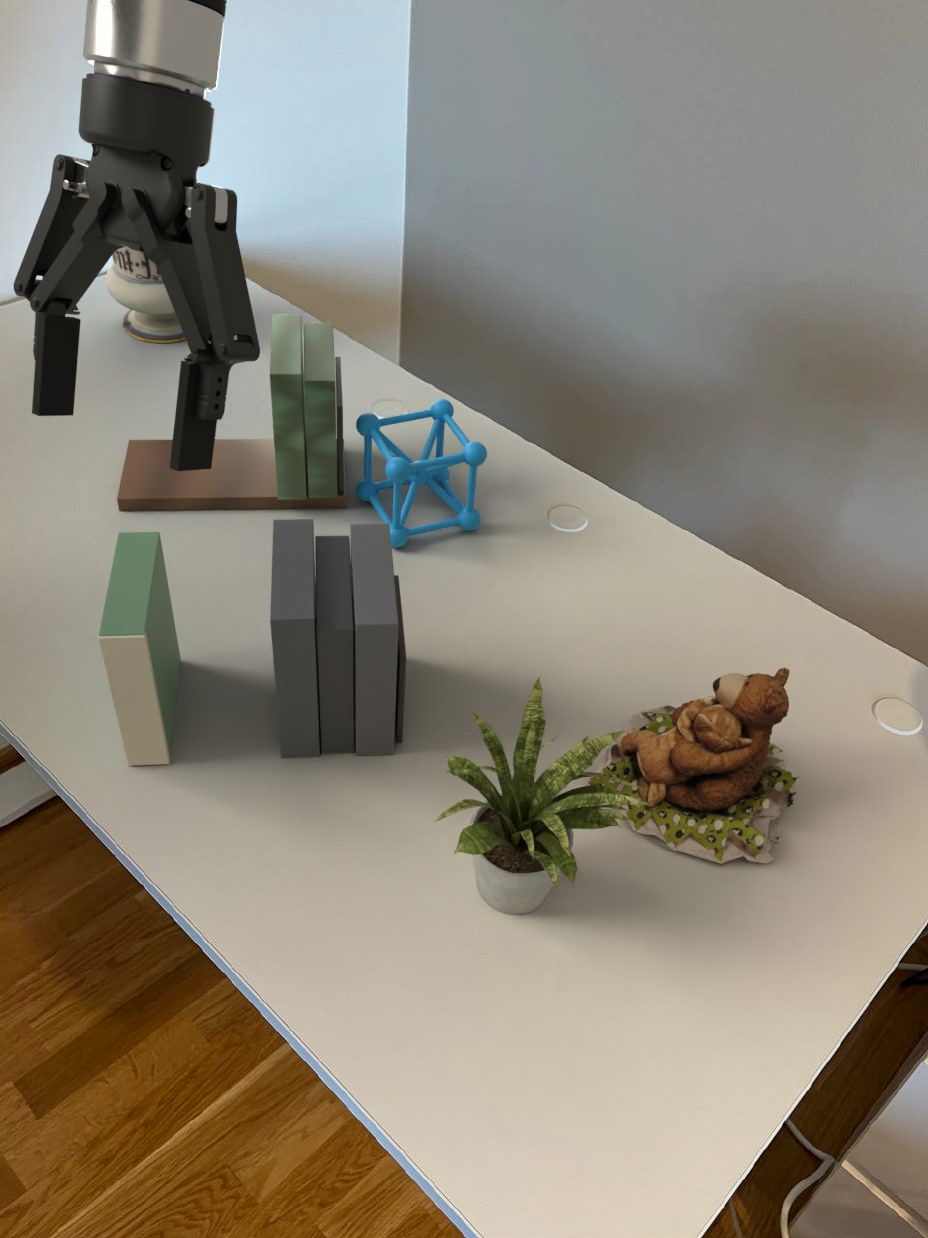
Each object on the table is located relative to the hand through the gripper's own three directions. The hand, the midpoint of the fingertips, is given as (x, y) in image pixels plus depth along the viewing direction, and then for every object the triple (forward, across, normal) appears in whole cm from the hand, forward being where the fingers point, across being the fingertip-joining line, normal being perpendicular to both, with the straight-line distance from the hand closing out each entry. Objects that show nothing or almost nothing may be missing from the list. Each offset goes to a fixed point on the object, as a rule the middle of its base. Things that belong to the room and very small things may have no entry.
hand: (118, 440), depth 69 cm
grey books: (+21, -8, -19) cm, 29 cm away
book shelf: (+10, +20, -32) cm, 40 cm away
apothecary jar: (0, +49, -46) cm, 67 cm away
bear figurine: (+20, -34, -30) cm, 50 cm away
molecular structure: (+10, +3, -40) cm, 42 cm away
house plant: (+26, -28, -14) cm, 41 cm away
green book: (+23, +4, -9) cm, 25 cm away
